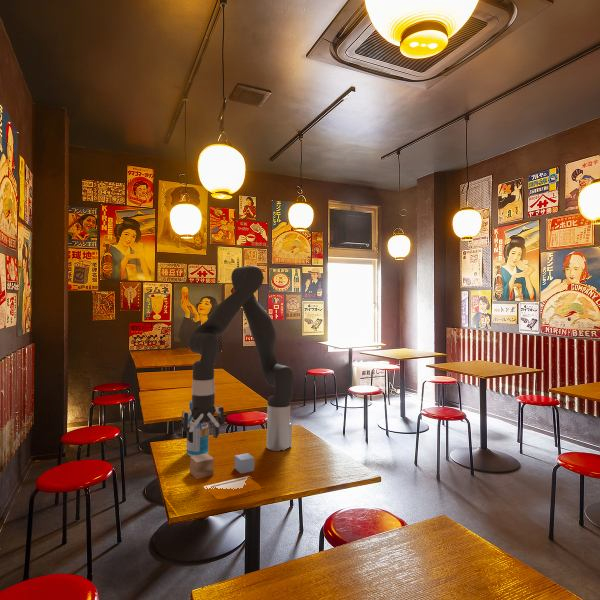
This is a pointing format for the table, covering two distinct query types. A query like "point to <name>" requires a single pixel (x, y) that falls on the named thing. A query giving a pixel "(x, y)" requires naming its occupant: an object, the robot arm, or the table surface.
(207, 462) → the walnut block
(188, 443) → the beverage bottle
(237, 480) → the menu card
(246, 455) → the slate cube
